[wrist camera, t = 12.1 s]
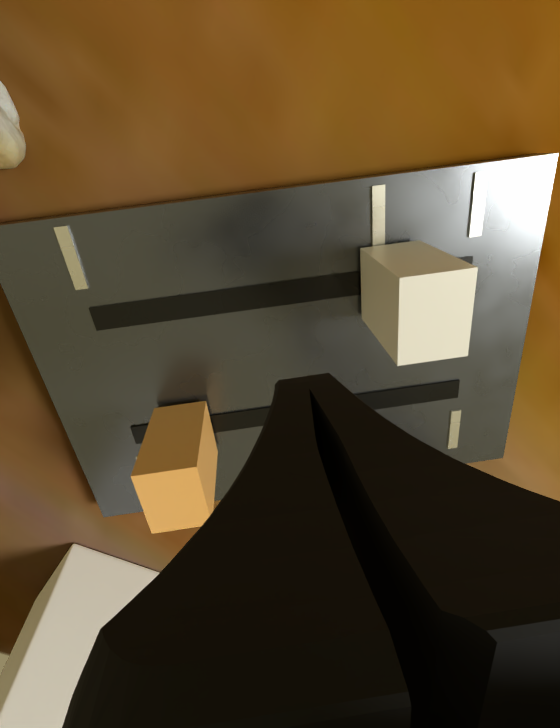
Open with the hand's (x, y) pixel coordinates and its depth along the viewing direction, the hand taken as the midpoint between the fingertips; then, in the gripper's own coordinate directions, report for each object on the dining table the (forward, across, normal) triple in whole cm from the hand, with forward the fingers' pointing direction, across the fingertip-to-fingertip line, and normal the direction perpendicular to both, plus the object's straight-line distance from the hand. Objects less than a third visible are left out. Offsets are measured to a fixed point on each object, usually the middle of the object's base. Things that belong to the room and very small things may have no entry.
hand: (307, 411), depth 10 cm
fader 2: (+8, -5, 0) cm, 9 cm away
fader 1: (+8, +5, +6) cm, 11 cm away
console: (+9, 0, +3) cm, 10 cm away
